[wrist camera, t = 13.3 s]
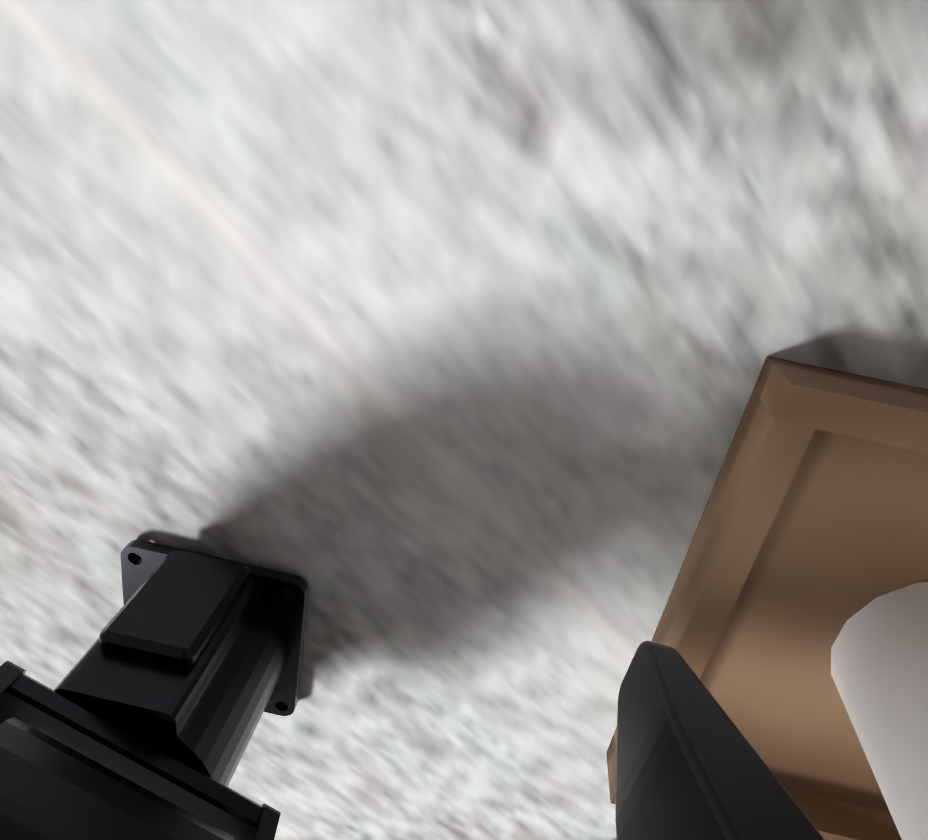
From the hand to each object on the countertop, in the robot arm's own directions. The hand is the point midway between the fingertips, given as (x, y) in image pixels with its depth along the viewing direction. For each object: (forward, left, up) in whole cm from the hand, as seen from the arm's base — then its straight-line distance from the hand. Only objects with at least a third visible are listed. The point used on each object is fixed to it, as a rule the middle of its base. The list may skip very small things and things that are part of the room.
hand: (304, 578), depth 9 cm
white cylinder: (-7, -17, -10) cm, 21 cm away
